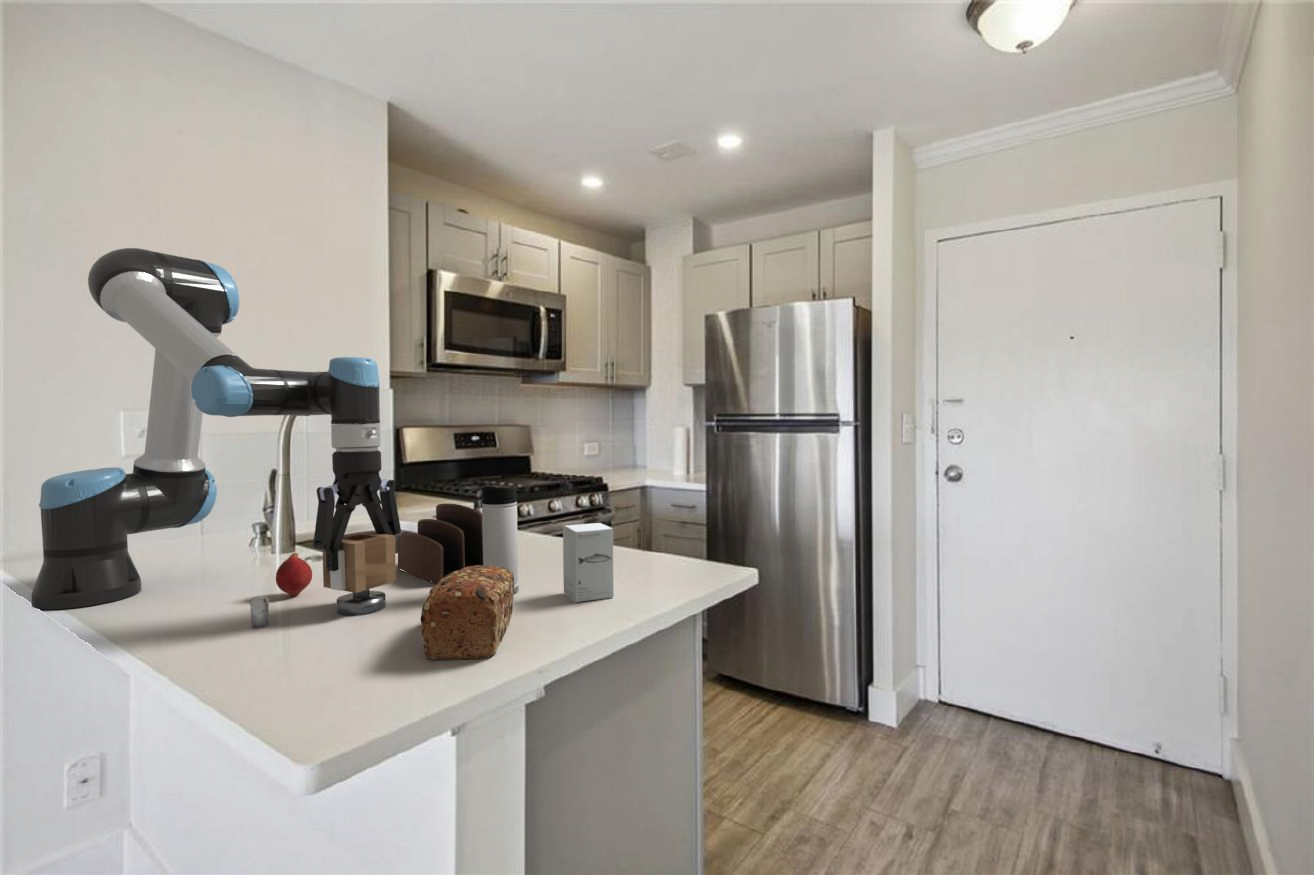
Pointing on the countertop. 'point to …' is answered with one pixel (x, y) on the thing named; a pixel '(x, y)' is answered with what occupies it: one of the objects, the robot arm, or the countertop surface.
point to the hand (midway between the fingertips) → (361, 582)
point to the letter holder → (443, 543)
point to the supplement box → (588, 561)
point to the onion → (293, 575)
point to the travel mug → (500, 529)
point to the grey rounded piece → (259, 612)
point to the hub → (361, 603)
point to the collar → (366, 561)
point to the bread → (467, 613)
